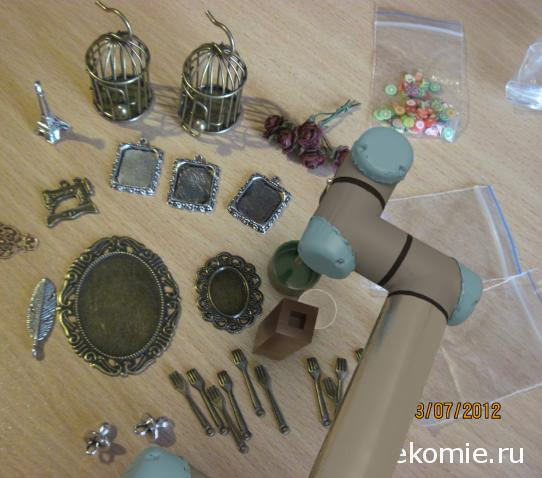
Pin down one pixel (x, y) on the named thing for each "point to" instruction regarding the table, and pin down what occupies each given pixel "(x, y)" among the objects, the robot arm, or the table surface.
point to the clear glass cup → (320, 307)
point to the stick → (298, 260)
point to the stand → (285, 329)
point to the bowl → (290, 271)
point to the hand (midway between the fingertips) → (310, 245)
